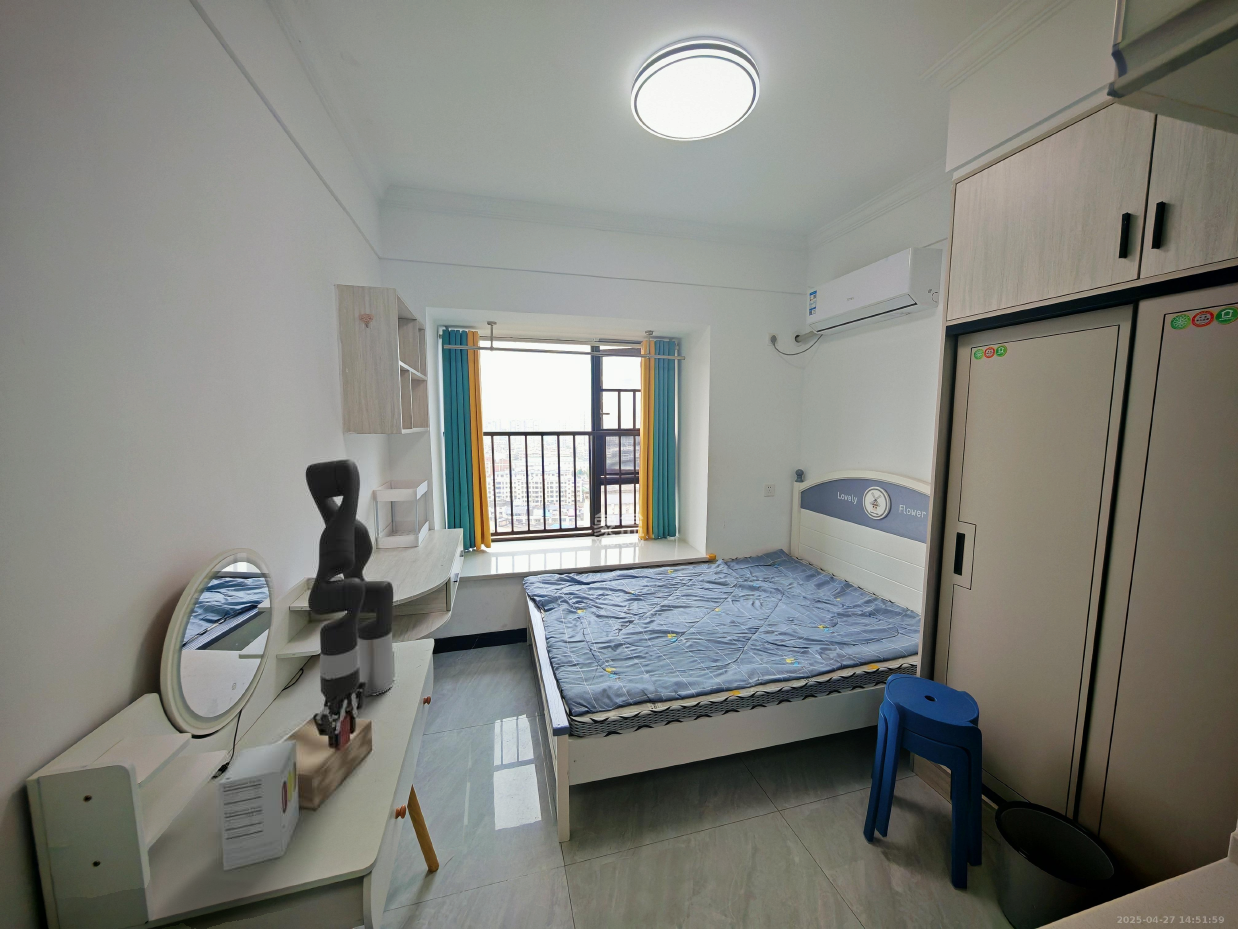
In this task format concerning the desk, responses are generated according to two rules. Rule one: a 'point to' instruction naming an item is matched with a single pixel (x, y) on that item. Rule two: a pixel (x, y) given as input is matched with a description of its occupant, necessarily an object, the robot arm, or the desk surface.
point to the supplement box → (259, 804)
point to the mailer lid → (321, 746)
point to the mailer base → (334, 773)
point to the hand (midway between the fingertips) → (342, 739)
